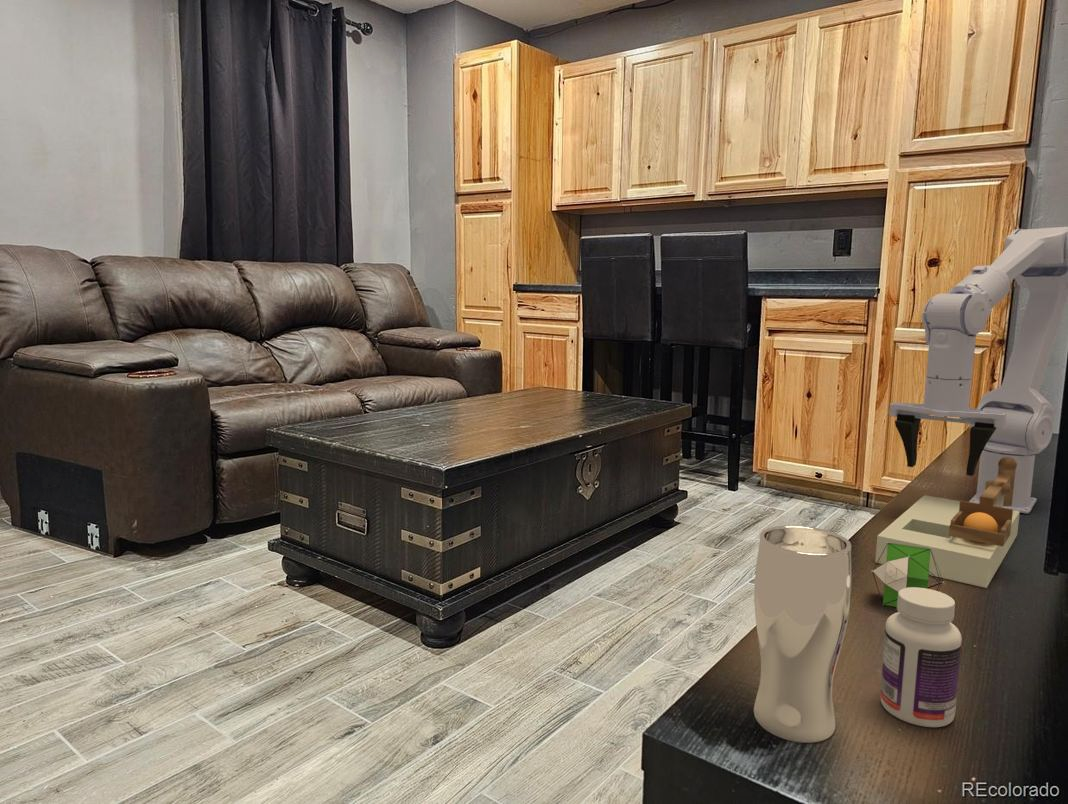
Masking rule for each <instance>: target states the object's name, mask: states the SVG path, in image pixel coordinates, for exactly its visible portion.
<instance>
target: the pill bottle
mask: <svg viewBox="0 0 1068 804" xmlns="http://www.w3.org/2000/svg"><path fill="white" fill-rule="evenodd" d="M955 606H956V602H955V600H954V599H953V598H952V597H951V596H950V595H948V594H946V593H944V592H941V591H938V590H936V589H931V588H928V589H926V588H918V587H908V588H904V589H901V590H900V591H899V592H898V600H897V607H896V611H897V612H895V613H893V614H891V615H890V616H889V617H888V618H887V619H886V622H885V627H884V639H883V640H884V641H883V653H882V654H883V655H882V666H881V668H882V669H881V682H880V703H881V704H882V706H883V708H884V709H885V710H886V711H887V712H888V713H889V714H890V715H892V716H894V717H895V718H897V719H899V720H901V721H903V722H906V723H908V724H911V725H915V726H920V727H925V728H940V727H941V728H942V727H945V726H948V725H949V724H951V723H952V722H953V721H954V718H955V715H956V708H957V696H958V684H959V674H960V665H961V655H962V654H961V652H962V650H961V649H962V643H963V642H962V640H963V638H962V634H961V632H960V630H959V628H958V627H957V626H956V625H954V624H953V623H952V622H953V621H954V620H955V619H954V618H955Z"/></svg>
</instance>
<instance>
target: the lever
mask: <svg viewBox="0 0 1068 804" xmlns="http://www.w3.org/2000/svg"><path fill="white" fill-rule="evenodd" d="M998 467H999V468H998V477H997V478H996V479H995V480H994V481H987V482H986V485H985V491H984V493H983V494H982V495H981V496H980V502H979V503H973V502H969V501H965V500H959V501H960V506H959V512H958V513H957V514H956V515H955V516H954V517H953V518H952V519H951V524H950V528H949V536H952V537H957V538H962V539H967V540H972V541H977V542H982V543H987V544H993V545H998V546H1004V544H1005V542H1006V541H1007V539H1008V538H1009V536H1010V533H1011V524H1012V515H1013V509H1009V508H1003V507H997V506H993V505H994V504H995V503H996V501H997V500H998V499H999V497H1000V496H1001V495H1002V494H1004V502H1003V506H1012V499H1013V489H1014V480H1015V471H1016V467H1017V463H1016V461H1015V460H1014V459H1013V458H1010V457H1004V458H1002V459H1000V460H999V462H998ZM977 512H981V513H986V514H988V515H990V516H991V517H993V518H994V519H995V521H996V523H997V525H998V532H997V533H996V532H990V531H985V530H980V529H974V528H969V527H964V526H963V524H964V521H965V519H966V518H967V517H968V516H969V515H970V514H973V513H977Z"/></svg>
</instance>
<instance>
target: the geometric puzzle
mask: <svg viewBox="0 0 1068 804" xmlns="http://www.w3.org/2000/svg"><path fill="white" fill-rule="evenodd" d="M887 544H888V546H887V545H886V546H887V559H886V562H885V563H884V564H881V565H879V566H876V567H873V568H872V570H870V571H871V573H872V575H873V577H874V581H875V584H876V587H877V591H878V593H879V597H880V601H881V603H882V606H888V607H894V608H897V600H898V592H899V591H900V590H901V589H904V588H908V587H918V588H926V589H931V588H934V587H935V586H938V587H937V588H936V591H938V592H940V589H941V587H942V585H944V583H945V581H943V578H942V577H939V575H938V577H936V576H935V575H934V576H932V575H933V574H932V573H931V572H930V571H929V565H930V550H931V548H930V549H928V548H921V547H914V546H907V545H900V544H893V543H889V542H887ZM885 548H886V547H885ZM884 550H885V549H884ZM884 550H883V552H884ZM883 552H882V554H883ZM882 554H881V556H882ZM931 554H932V551H931ZM932 557H934V556H933V554H932ZM880 558H881V557H880ZM878 560H880V559H878ZM933 560H935V559H934V558H933ZM877 562H879V561H877ZM934 563H936V562H934ZM878 564H879V563H876V562H875V565H878ZM936 565H937V564H936ZM936 565H935V567H936ZM937 568H938V567H937ZM937 568H936V570H937ZM938 570H939V569H938ZM929 572H930V573H931V574H932V575H930V574H929ZM937 573H938V572H937ZM939 573H940V572H939ZM875 575H876V577H878V578H879V579H880V580H881V582H882V583H883V585H884V588H883V597H881V592H880V590H879V587H878V582H877V580H876V577H875ZM929 576H930V577H931V578H933V580H931V579H930V577H929ZM940 576H941V575H940ZM940 578H941V579H940ZM929 579H930V580H929ZM929 582H934V583H937V584H933V585H930V586H929ZM882 598H883V599H882Z"/></svg>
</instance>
